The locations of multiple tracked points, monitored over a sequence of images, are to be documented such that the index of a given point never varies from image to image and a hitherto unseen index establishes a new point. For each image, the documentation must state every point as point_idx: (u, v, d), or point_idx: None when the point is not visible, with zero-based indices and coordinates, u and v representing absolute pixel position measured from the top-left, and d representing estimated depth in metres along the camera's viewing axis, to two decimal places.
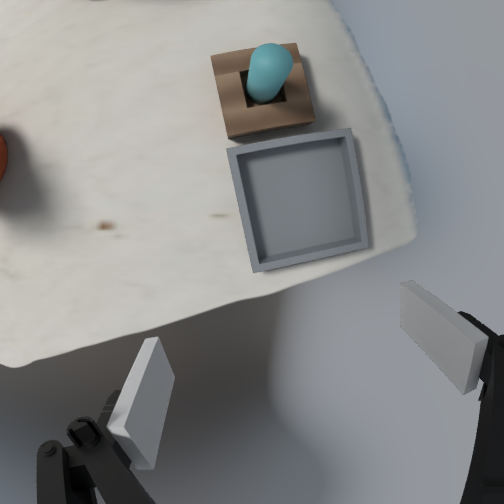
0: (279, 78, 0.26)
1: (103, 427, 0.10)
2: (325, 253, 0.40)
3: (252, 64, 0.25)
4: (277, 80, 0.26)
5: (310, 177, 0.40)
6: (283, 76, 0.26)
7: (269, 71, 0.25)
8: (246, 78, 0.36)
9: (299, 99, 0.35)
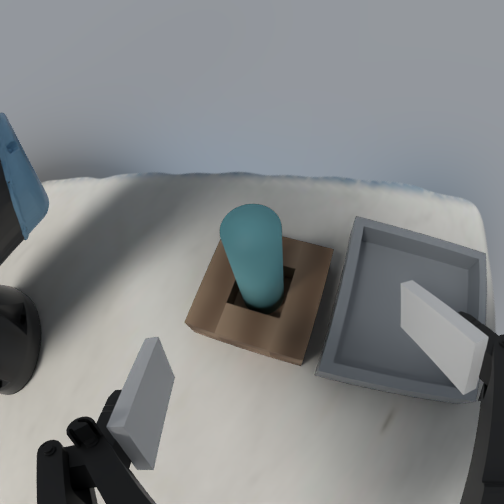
0: (280, 231, 0.20)
1: (103, 427, 0.10)
2: (483, 304, 0.25)
3: (240, 253, 0.19)
4: (280, 236, 0.20)
5: (392, 291, 0.29)
6: (279, 226, 0.20)
7: (263, 238, 0.20)
8: (238, 303, 0.30)
9: (299, 254, 0.30)
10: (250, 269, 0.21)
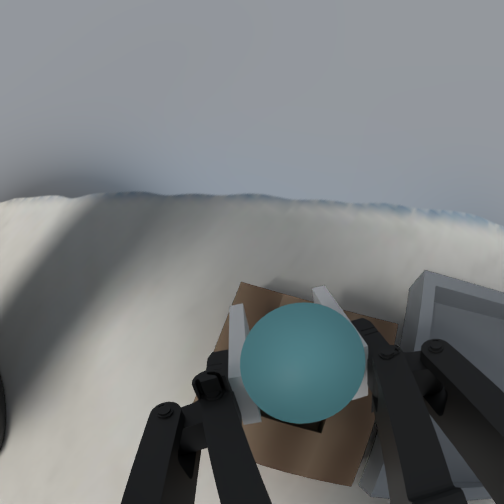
0: (362, 367, 0.09)
1: None
2: None
3: (285, 417, 0.08)
4: None
5: None
6: (361, 354, 0.09)
7: (330, 384, 0.09)
8: None
9: None
10: None
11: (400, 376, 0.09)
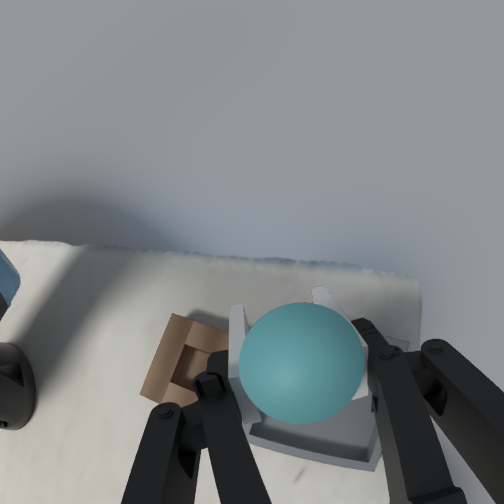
0: (361, 368, 0.09)
1: None
2: None
3: (284, 418, 0.08)
4: None
5: None
6: (360, 355, 0.09)
7: (329, 385, 0.09)
8: (182, 378, 0.36)
9: (228, 345, 0.35)
10: None
11: (400, 376, 0.09)
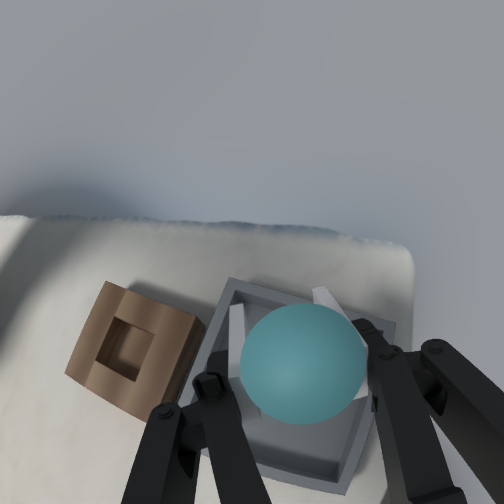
0: (362, 368, 0.09)
1: None
2: None
3: (286, 418, 0.08)
4: None
5: None
6: (362, 355, 0.09)
7: (331, 385, 0.09)
8: (113, 358, 0.29)
9: (161, 319, 0.28)
10: None
11: (400, 376, 0.09)
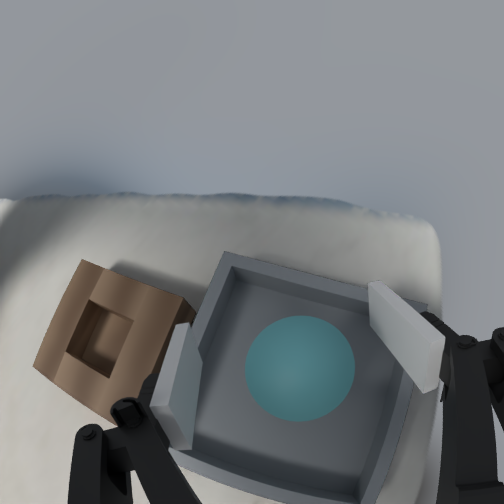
0: (352, 373, 0.10)
1: None
2: (407, 386, 0.18)
3: (284, 416, 0.10)
4: None
5: None
6: (351, 361, 0.10)
7: (324, 387, 0.10)
8: (88, 350, 0.24)
9: (142, 301, 0.23)
10: None
11: (472, 366, 0.08)
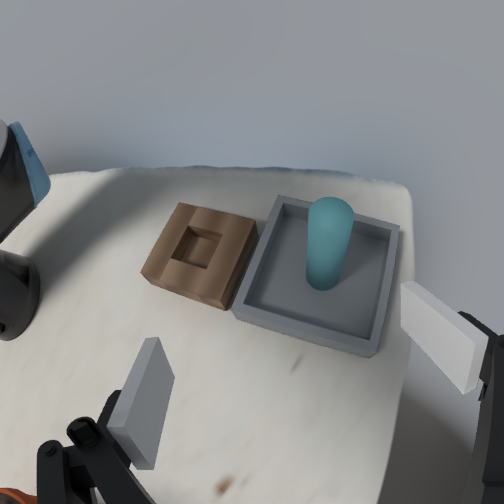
0: (353, 217, 0.26)
1: (103, 427, 0.10)
2: (390, 268, 0.33)
3: (327, 232, 0.25)
4: None
5: None
6: (352, 213, 0.26)
7: (342, 222, 0.26)
8: (182, 261, 0.40)
9: (228, 223, 0.39)
10: (330, 246, 0.27)
11: None
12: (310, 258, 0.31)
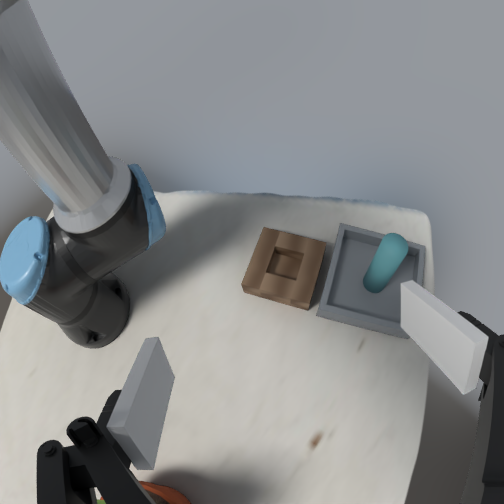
0: (407, 247, 0.39)
1: (103, 427, 0.10)
2: (420, 276, 0.46)
3: (394, 257, 0.38)
4: (407, 249, 0.39)
5: (362, 268, 0.51)
6: (406, 244, 0.39)
7: (401, 250, 0.39)
8: (270, 274, 0.52)
9: (306, 245, 0.51)
10: (393, 265, 0.40)
11: None
12: (374, 272, 0.44)
